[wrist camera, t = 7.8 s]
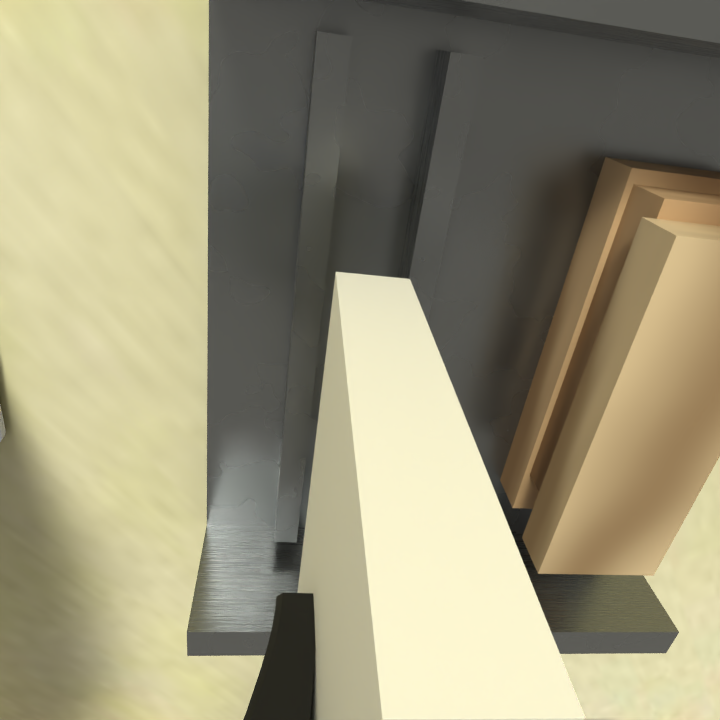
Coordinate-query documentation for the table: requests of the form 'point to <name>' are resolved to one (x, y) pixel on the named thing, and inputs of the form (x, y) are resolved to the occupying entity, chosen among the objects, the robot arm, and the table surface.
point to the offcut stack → (625, 378)
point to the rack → (416, 240)
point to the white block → (413, 538)
